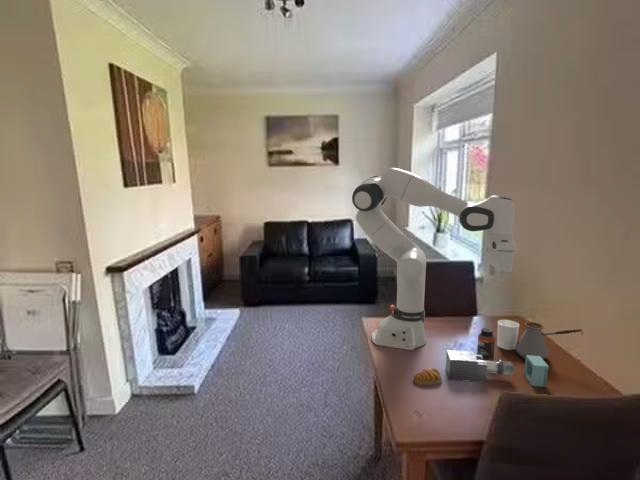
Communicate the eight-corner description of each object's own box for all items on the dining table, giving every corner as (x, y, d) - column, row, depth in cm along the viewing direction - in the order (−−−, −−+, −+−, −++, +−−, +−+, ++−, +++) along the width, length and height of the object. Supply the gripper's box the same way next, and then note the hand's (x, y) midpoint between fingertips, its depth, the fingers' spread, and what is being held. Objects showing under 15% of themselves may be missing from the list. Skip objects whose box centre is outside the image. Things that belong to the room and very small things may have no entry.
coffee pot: (511, 357, 151) (515, 320, 149) (517, 346, 160) (521, 312, 158) (577, 375, 139) (582, 335, 136) (579, 362, 148) (585, 324, 145)
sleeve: (449, 379, 136) (450, 359, 134) (445, 369, 143) (446, 350, 142) (485, 382, 134) (487, 362, 133) (480, 371, 141) (481, 352, 140)
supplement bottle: (492, 355, 153) (495, 327, 151) (494, 362, 148) (496, 333, 146) (476, 352, 155) (478, 325, 153) (477, 359, 150) (479, 331, 148)
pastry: (419, 389, 131) (420, 378, 130) (408, 379, 137) (409, 368, 136) (443, 383, 134) (444, 373, 133) (431, 374, 140) (432, 364, 139)
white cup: (512, 342, 164) (514, 319, 162) (520, 351, 157) (522, 327, 155) (493, 341, 165) (495, 319, 163) (499, 350, 157) (501, 326, 155)
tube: (454, 374, 136) (455, 360, 135) (452, 367, 141) (453, 353, 140) (513, 379, 134) (514, 364, 133) (508, 371, 139) (509, 357, 138)
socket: (531, 385, 132) (534, 365, 131) (524, 374, 139) (526, 355, 138) (546, 386, 132) (548, 366, 130) (537, 375, 139) (539, 356, 137)
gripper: (481, 236, 151) (479, 270, 154) (498, 246, 131) (495, 286, 134) (498, 236, 150) (496, 271, 153) (518, 246, 131) (515, 287, 133)
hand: (496, 278), depth 143 cm, fingers open, 8 cm apart
